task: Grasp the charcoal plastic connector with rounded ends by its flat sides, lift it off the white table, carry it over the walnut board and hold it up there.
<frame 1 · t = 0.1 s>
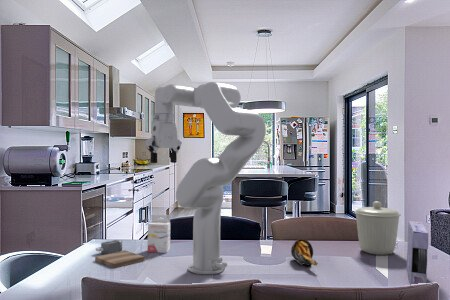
hand: (163, 162, 152), 37 cm above the table, tool pointing down, fingers open, 9 cm apart
ink cartridge box: (158, 251, 160), on the table
walnut board: (120, 260, 146), on the table
canister: (376, 252, 161), on the table
fried food: (304, 265, 142), on the table
cake pan box: (416, 280, 126), on the table
charcoal connector: (111, 251, 159), on the table
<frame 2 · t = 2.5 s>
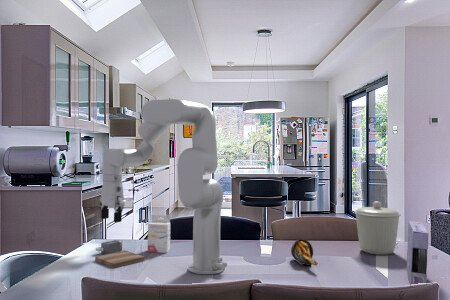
hand: (111, 220, 159), 13 cm above the table, tool pointing down, fingers open, 9 cm apart
nothing on the table moved.
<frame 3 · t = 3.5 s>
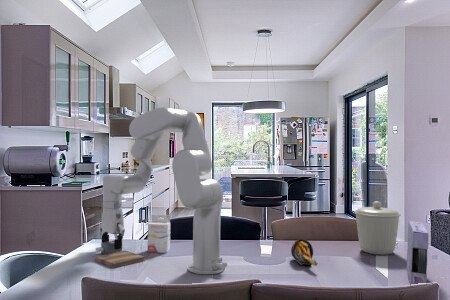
hand: (111, 246, 159), 2 cm above the table, tool pointing down, fingers open, 9 cm apart
nothing on the table moved.
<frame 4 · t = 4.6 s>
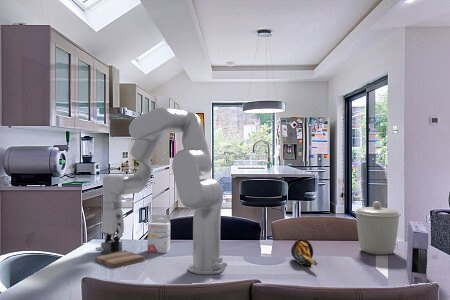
hand: (111, 249, 159), 1 cm above the table, tool pointing down, fingers closed on charcoal connector, 4 cm apart
charcoal connector: (111, 251, 159), on the table, touching gripper
everything else where it was.
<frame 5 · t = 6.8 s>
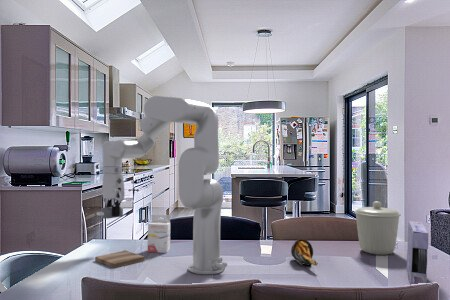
hand: (112, 215, 159), 15 cm above the table, tool pointing down, fingers closed on charcoal connector, 4 cm apart
charcoal connector: (112, 217, 159), point 14 cm above the table, touching gripper
everything else where it was.
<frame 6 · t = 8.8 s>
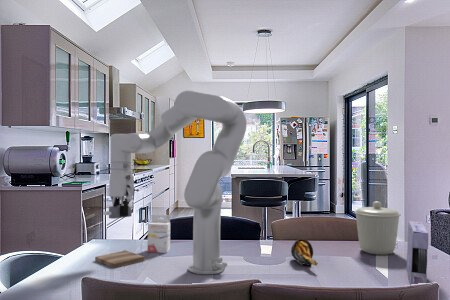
hand: (120, 214, 146), 17 cm above the table, tool pointing down, fingers closed on charcoal connector, 4 cm apart
charcoal connector: (120, 216, 146), point 17 cm above the table, touching gripper
everything else where it was.
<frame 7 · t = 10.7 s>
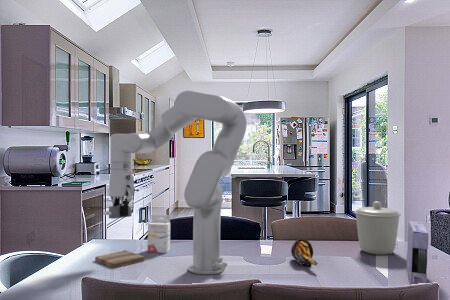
hand: (120, 214, 146), 17 cm above the table, tool pointing down, fingers closed on charcoal connector, 4 cm apart
charcoal connector: (120, 216, 146), point 17 cm above the table, touching gripper
everything else where it was.
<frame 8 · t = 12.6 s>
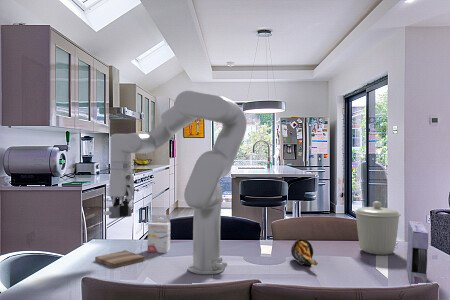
hand: (120, 214, 146), 17 cm above the table, tool pointing down, fingers closed on charcoal connector, 4 cm apart
charcoal connector: (120, 216, 146), point 17 cm above the table, touching gripper
everything else where it was.
at the end: the gripper is holding charcoal connector; charcoal connector point 16.5 cm above the table; charcoal connector inside the target area on the walnut board (0.0 cm from its centre), point 16.5 cm above the walnut board's base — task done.
